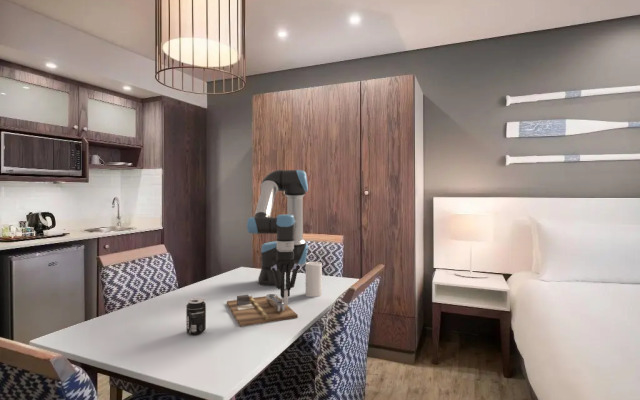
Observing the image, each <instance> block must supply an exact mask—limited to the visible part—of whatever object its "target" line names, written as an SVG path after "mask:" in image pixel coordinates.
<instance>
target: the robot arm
mask: <svg viewBox="0 0 640 400" xmlns="http://www.w3.org/2000/svg"><path fill="white" fill-rule="evenodd" d="M308 183H309V182H308V176H307V173H306V171H304V170H302V169H283V170H282V169H277V170H274V171H272V172H270V173H268V174H267V175H266V176H265V177H263V180H261V183H260V193H259V197H258V202H257V204H256V208H255V213H254V216H251V217H248V219H247V221H246V228H247V229H246V230H247V232H248V233H249V234H255V235H257V234H262V235H263V234H265V235H266V234H267V235H271V234H272V235H273V234H274V235H276V240H275V241H270V242H265V243H263V244H262V245H261V250H260V253H261V254H260V255H261V259H260V261H261V262H260V263H261V269H260V272H259V275H258V279H257V280H258V281H257V283H258V285H261V286H272V287H273V286H275V287H276V288H277V290H280V298H282V299H281V300H282V302H284V305H288V306H289V304H288V303H289V297H290V296H291V293H290V292H291V290H292V288H294V287H295V283H296V279H297V275H298V271H299V270H300V268H301V267H300V265H306V263H307V256H308V255H307V254H308V249H309V244H308V243H306V240H305V239H304V222H303V221H304V219H303V218H304V216H303V215H304V214H303V212H304V211H303V209H304V208H303V207H304V205H303V204H304V203H303V201H304V199H303V198H304V196H306V192H309V184H308ZM278 192H284V196H285V197H286V198H287V201H286V202H287V207H286V208H287V214H277V216H276V217H274V216H273V217H272V212H273V207H274V202H275V197H276V194H277V193H278ZM291 271H292V273H291Z"/></svg>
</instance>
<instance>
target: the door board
mask: <svg viewBox="0 0 640 400" xmlns="http://www.w3.org/2000/svg"><path fill="white" fill-rule="evenodd" d="M275 295H276V294H275ZM266 296H267V295H265V296H257V297H253V296H252V295H249V294H243V295H242V294H241V295H236V299H233V300H226V306H228V308H229V310H230V312H231V313H232V316H233V317H234V319H235V321H236V322H237V324H238V327H240V328H241V327H247V326H254V325H259V324H260V325H261V324H266V323H271V322H279V321H284V320H290V319H297V318H298V317H299V315H298V314H297V312H295V311H294V310H293V309H292V308H291V307H290V306H289V304H288V305H285V310H283V311H277V310H276V309H275V308H274V307H273V306H272V305H271V304H270V303H269V302H267V301H266ZM276 297H277V298H278V299H279V300H280V301H281V302H282V299H281V297H279V296H278V295H276Z"/></svg>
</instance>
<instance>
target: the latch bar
mask: <svg viewBox="0 0 640 400" xmlns="http://www.w3.org/2000/svg"><path fill="white" fill-rule="evenodd" d="M265 296H266V301H267V302H269V303H270V304H271V305H272V306H273V307H274V308H275V309H276V310H277V311H283V310H285V305H284V302H281V301H280V300H279V299H278V298H277V297H276V294H275V293H269V294H266V295H265Z"/></svg>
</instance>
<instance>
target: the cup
mask: <svg viewBox="0 0 640 400" xmlns="http://www.w3.org/2000/svg"><path fill="white" fill-rule="evenodd" d="M322 264H323V263H322V262H320V261H309V262H307V261H306V262H305V296H306V297H309V298H310V297H311V298H318V297H320V296H322V294H323V293H322V290H323V285H322V282H323V281H322V280H323V279H322V278H323V274H322V273H323V269H322V267H323V265H322Z"/></svg>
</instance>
